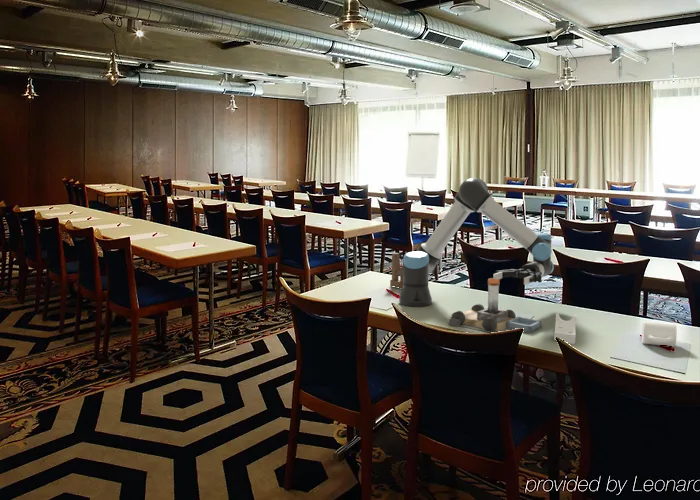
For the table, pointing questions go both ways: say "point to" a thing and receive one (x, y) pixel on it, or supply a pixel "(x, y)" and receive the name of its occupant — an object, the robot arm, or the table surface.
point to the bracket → (565, 329)
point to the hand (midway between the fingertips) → (509, 279)
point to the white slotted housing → (659, 333)
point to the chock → (454, 322)
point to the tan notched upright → (396, 272)
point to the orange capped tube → (493, 295)
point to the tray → (524, 324)
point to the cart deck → (478, 323)
